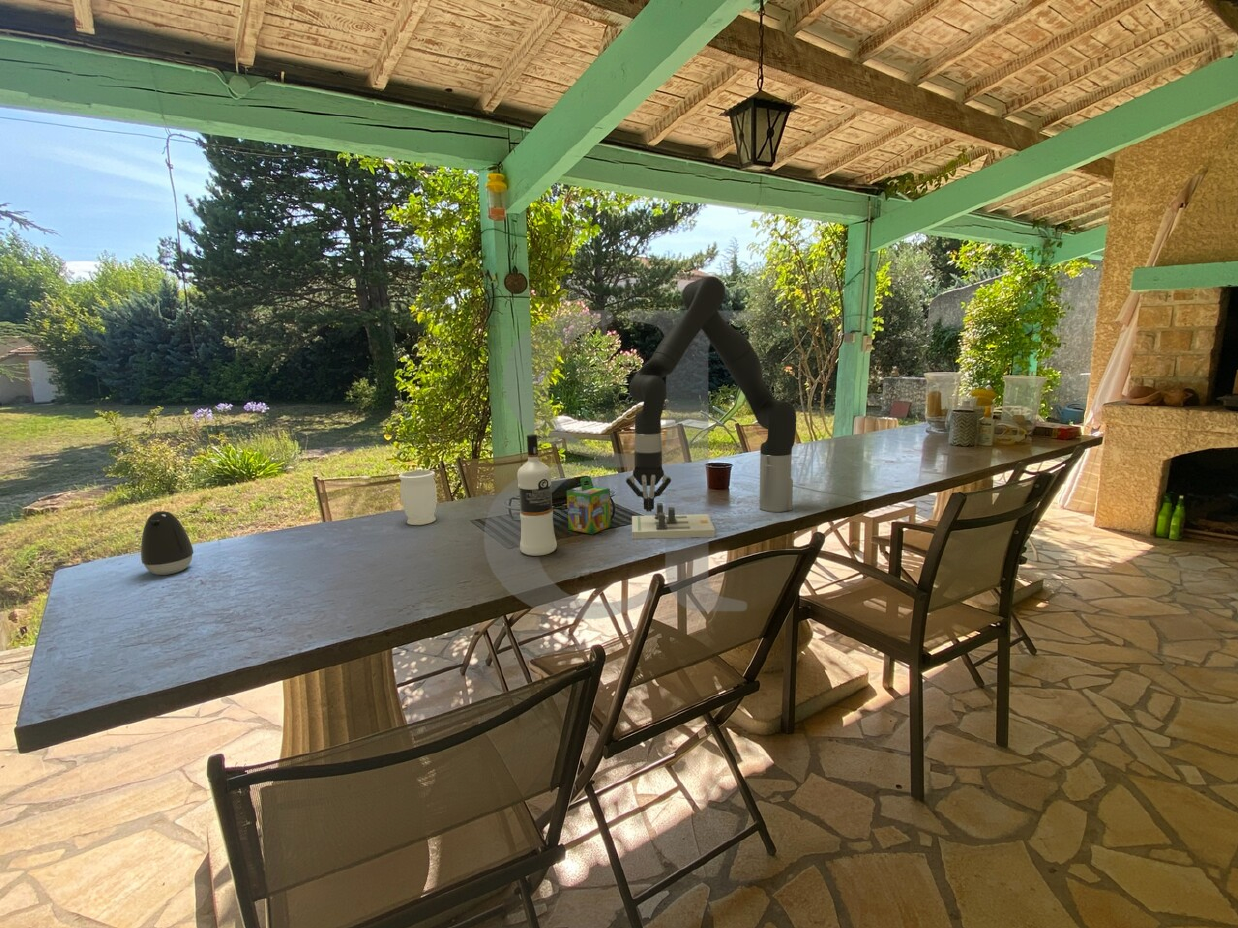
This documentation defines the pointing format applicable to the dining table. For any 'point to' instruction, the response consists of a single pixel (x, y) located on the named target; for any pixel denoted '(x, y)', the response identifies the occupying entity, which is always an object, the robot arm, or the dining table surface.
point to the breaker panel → (673, 527)
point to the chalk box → (588, 508)
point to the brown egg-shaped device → (165, 544)
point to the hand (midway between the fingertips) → (648, 510)
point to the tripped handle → (671, 515)
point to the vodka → (535, 504)
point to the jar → (418, 496)
